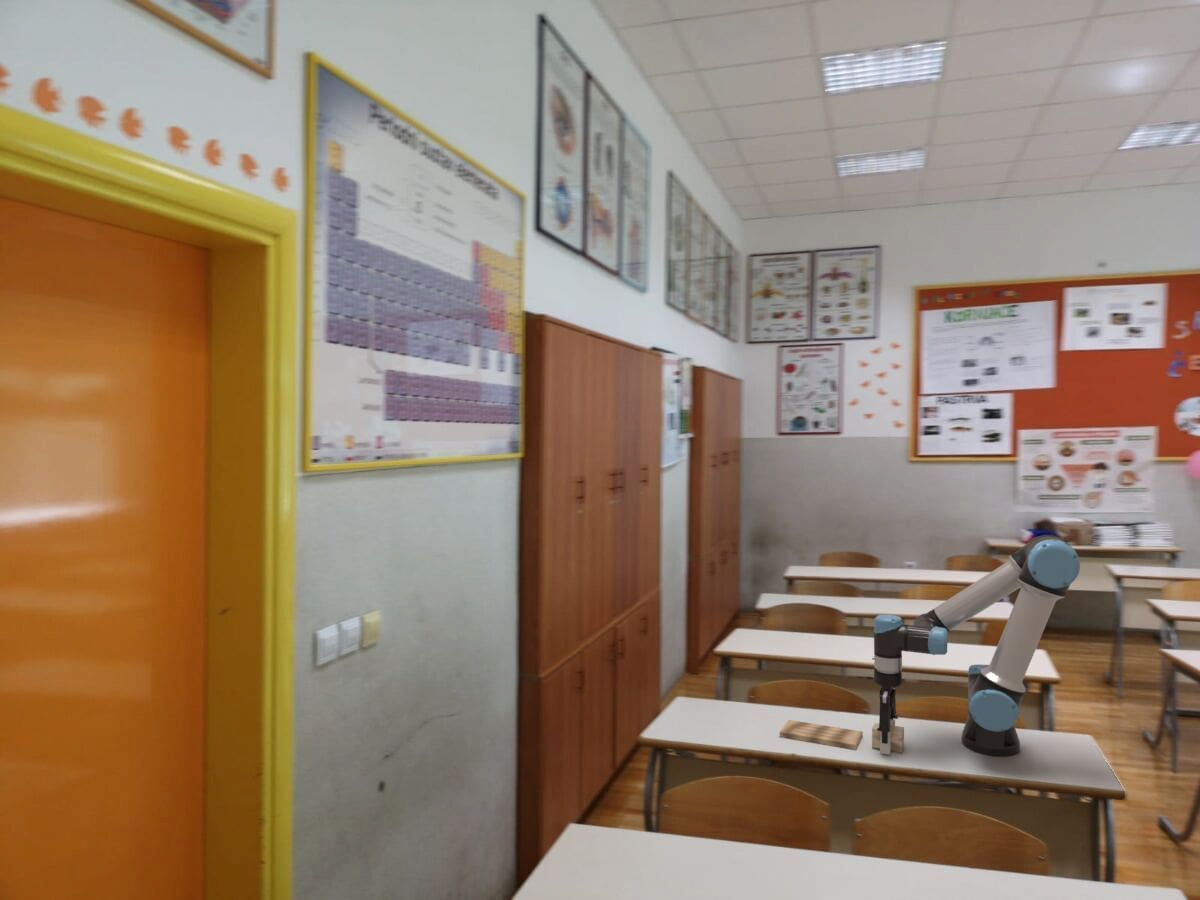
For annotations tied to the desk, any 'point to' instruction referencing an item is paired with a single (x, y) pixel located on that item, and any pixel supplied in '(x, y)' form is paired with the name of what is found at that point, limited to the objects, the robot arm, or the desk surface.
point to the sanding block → (895, 738)
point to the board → (822, 734)
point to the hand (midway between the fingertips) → (887, 747)
